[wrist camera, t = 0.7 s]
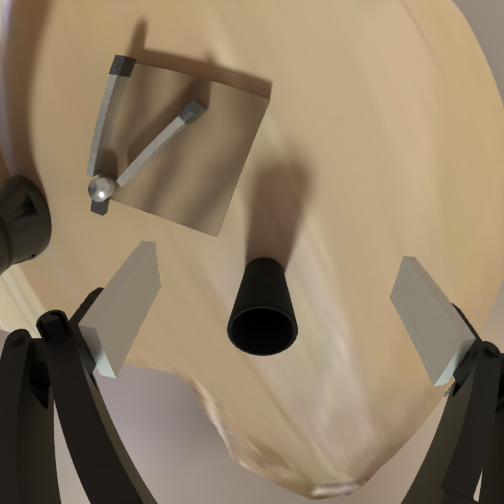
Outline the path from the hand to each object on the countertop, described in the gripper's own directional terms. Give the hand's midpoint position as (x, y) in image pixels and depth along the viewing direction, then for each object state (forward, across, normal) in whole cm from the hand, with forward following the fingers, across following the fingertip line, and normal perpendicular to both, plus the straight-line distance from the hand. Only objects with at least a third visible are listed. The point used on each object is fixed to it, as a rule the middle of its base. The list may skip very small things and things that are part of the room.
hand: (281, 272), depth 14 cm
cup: (+23, 0, -14) cm, 27 cm away
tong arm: (+20, -13, +4) cm, 24 cm away
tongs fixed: (+21, -19, +5) cm, 29 cm away
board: (+22, -12, +4) cm, 26 cm away
